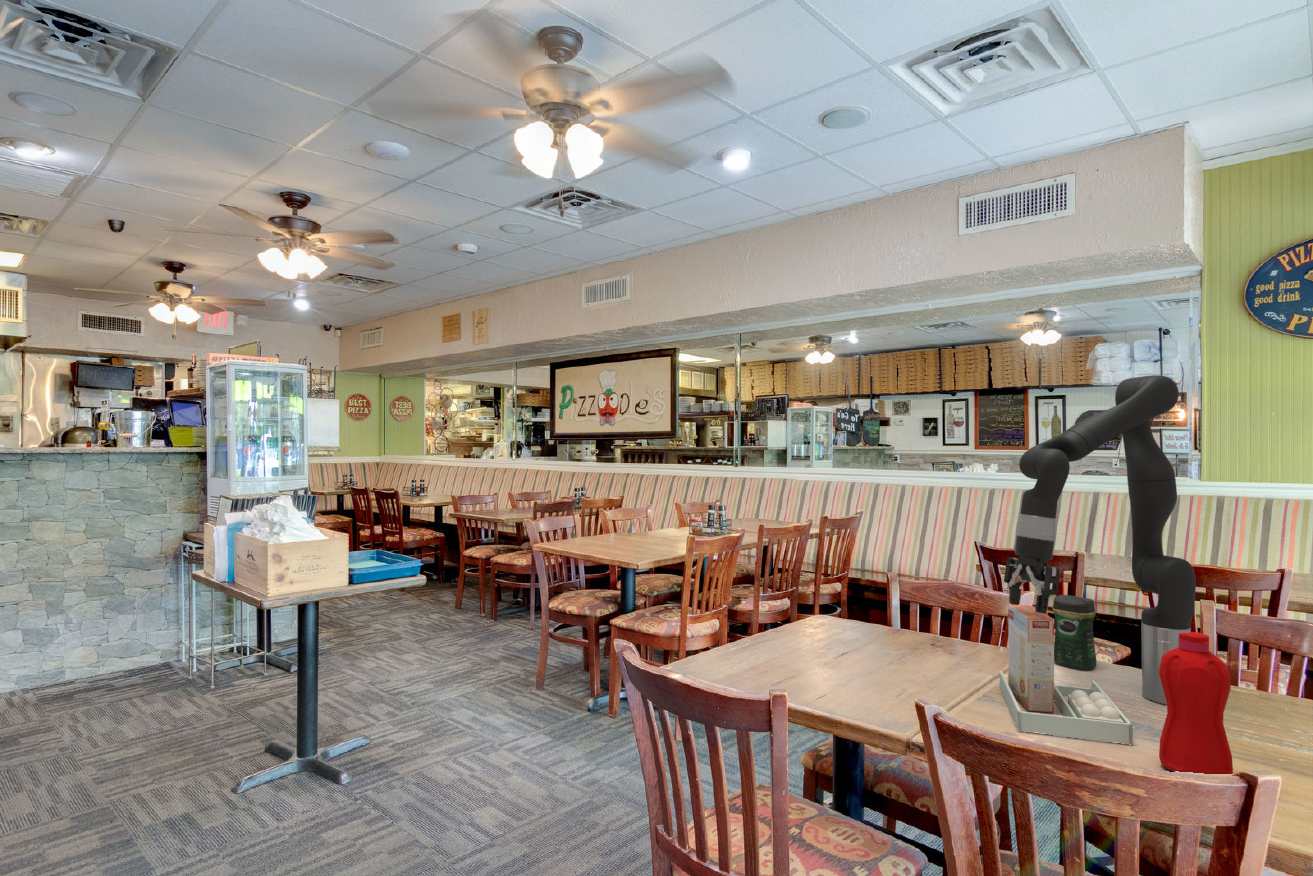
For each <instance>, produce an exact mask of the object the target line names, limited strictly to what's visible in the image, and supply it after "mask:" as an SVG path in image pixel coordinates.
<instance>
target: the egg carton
mask: <svg viewBox="0 0 1313 876" xmlns="http://www.w3.org/2000/svg"><path fill="white" fill-rule="evenodd" d="M1067 703H1068V704H1069V706H1070V707H1071V709H1072V710H1073V712H1074V713H1075V715H1076V716H1077V717H1078V718H1084V719H1093V720H1102V721H1110V722H1119V723H1124V722H1123V720H1122V719H1121V718H1120V715H1119V713H1118V711H1117V710H1116V709H1115V708H1113V705H1112V704H1111V702H1109V701H1108V700H1107V698H1106V696H1105V695H1104V694H1102V693H1100V692H1093V693H1091V694H1090V696H1088V695H1087V694H1086V693H1085V692H1084V691H1082V690H1075V691H1073V692H1072V694H1068V695H1067Z"/></svg>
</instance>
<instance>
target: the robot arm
mask: <svg viewBox="0 0 1313 876" xmlns="http://www.w3.org/2000/svg"><path fill="white" fill-rule="evenodd" d="M1179 393H1180V392H1179V388H1178V385H1177V383H1176V382H1175V381H1174V380H1173V379H1172V378H1170V377H1168V376H1166V375H1161V374H1158V375H1156V374H1155V375H1144V376H1138V377H1137V376H1136V377H1130V378H1126V379H1123V380H1122V381H1120V382H1119V384H1118V385H1117V387H1116V390H1115V396H1114V397H1115V398H1114V399H1115V406H1113V407H1111V408H1108V409H1106V410H1103V411H1101V412H1097V413H1095V414H1093V415H1090V416H1087V417H1086V418H1084V419H1082V420H1080V421H1078V422H1077V423H1075V424H1074V425H1072V426H1070V427H1069V428H1067V429H1065V431H1062V432H1061V433H1060V434H1059V435H1056V436H1055V437H1052V438H1050V439H1047V440H1045V441H1043V442H1040V443H1038V444H1036V445H1034V446H1032V447H1031V448H1029V449H1027V450H1026V451H1025V452H1024V453H1023V454H1022V456H1021V457H1020V459H1019V465H1018V467H1019V470H1020V472H1021V474H1023V476H1025V477H1026V478H1028V479H1031V480H1036V482H1035V485H1034V487H1033V488H1030V489H1027V490H1025V491H1024V492H1023V494H1022V499H1021V507H1020V515H1019V519H1018V522H1017V528H1016V538H1015V545H1014V554H1015V555H1016V556H1018V557H1017V558H1016V557H1007V559H1006V562H1005V563H1006V565H1005V572H1004V576H1003V582H1004V583H1006V584H1007V585H1008V587H1009V595H1008V602H1009V605H1021V604H1020V603H1021V594H1022V586H1023V585H1024V584H1025V583H1027V582H1028V583H1029V582H1030V583H1031V584H1032V586H1033V587H1034V588H1035V590H1036V593H1037V594H1036V598H1035V599H1036V600H1035V601H1036V602H1035V611H1036V612H1038V613H1044V614H1047V611H1048V609H1049V600H1050V599H1049V598H1050V597H1051V596H1058V594H1059V593H1058V592H1059V580H1060V579H1059V578H1060V568H1059V567H1056V566H1051V565H1049V563H1048V562H1049V561H1051V560H1053V555H1054V547H1055V546H1054V545H1055V541H1056V540H1055V538H1056V531H1057V527H1056V518H1057V512H1058V511H1057V509H1058V501H1059V499H1060V497H1061V495H1062V492H1063V489H1064V488H1065V485H1066V483H1067V479H1068V477H1069V475H1070V469H1071V467H1070V465H1071V464H1070V463H1071V462H1077V461H1079V460H1082V459H1084V458H1085V457H1087V456H1088V455H1089V454H1091V453H1092V452H1094V451H1096V450H1097V449H1099V448H1100V447H1102V446H1104V445H1105V444H1107V443H1108V442H1109V441H1112V440H1113V439H1114V438H1115V439H1116V437H1118V436H1120V435H1121V436H1122V441H1123V442H1122V443H1123V448H1124V457H1125V464H1126V478H1127V489H1128V497H1129V505H1130V516H1131V517H1130V518H1131V532H1132V533H1131V534H1132V536H1131V537H1132V539H1131V540H1132V541H1131V545H1132V547H1131V572H1132V578H1133V580H1134V583H1135V584H1136V586H1137V587H1138V588H1139V589H1140V590H1142V591H1144V592H1147V593H1152V594H1155V595H1157V596H1158V597H1157V599H1158V600H1157V605H1156V606H1154V607H1148V608H1144V609H1143V610H1142V611H1141V616H1140V617H1141V619H1140V620H1141V621H1140V622H1141V624H1140V625H1141V628H1140V629H1141V691H1142V693H1141V694H1142V695H1141V696H1142V697H1144V698H1145V699H1147V700H1149V701H1151V700H1152V701H1151V702H1154V703H1158V704H1162V705H1167V701H1166V698H1165V694H1164V691H1163V687H1162V683H1161V679H1160V676H1159V672H1158V671H1159V667H1160V663H1161V658H1162V656H1163V655H1164V654H1165V653H1167V652H1168V651H1170V650H1173V649H1175V648H1178V647H1179V640H1178V637H1179V633H1190V632H1192V631H1191V630H1192V629H1191V625H1192V624H1191V623H1192V619H1193V617H1194V614H1195V609H1196V607H1195V606H1196V589H1197V588H1196V587H1197V581H1196V580H1197V579H1196V574H1195V573H1196V572H1195V569H1194V568H1193V566H1192V564H1191V563H1190V562H1189V561H1187V560H1186V559H1184V558H1180V557H1177V556H1176V557H1175V556H1169V555H1164V550H1163V533H1164V532H1163V531H1164V527H1165V526H1166V523H1167V522H1168V520H1169V519H1170V517H1171V514H1172V512H1173V511H1174V508H1175V507H1176V504H1177V500H1178V492H1177V481H1176V473H1175V472H1176V471H1175V469H1174V467H1173V465H1172V463H1171V462H1170V460H1169V458H1168V457H1167V455H1166V454H1165V453H1164V451H1163V450H1162V448H1161V447H1160V446H1159V444H1158V443H1157V441H1156V439H1155V437H1154V435H1153V432H1152V426H1151V420H1152V419H1154V418H1157V417H1159V416H1161V415H1163V414H1164V415H1165V413H1167V412H1169V411H1171V410H1172V409H1173V408H1174V407H1176V405H1177V403H1178V400H1179V395H1180V394H1179Z"/></svg>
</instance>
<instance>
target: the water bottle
mask: <svg viewBox="0 0 1313 876" xmlns="http://www.w3.org/2000/svg"><path fill="white" fill-rule="evenodd" d="M1178 640H1179V647H1178V648H1175V649H1173V650H1170V651H1168V652H1167V653H1165V654H1164V655H1163V656H1162V658H1161V663H1160V667H1159V671H1158V672H1159V676H1160V679H1161V683H1162V687H1163V691H1164V694H1165V698H1166V701H1167V704H1166V712H1167V713H1166V717H1165V719H1164V722H1163V723H1164V724H1163V726H1162V730H1161V735H1160V737H1159V748H1158V749H1159V750H1158V751H1159V753H1158V757H1159V761H1160V764H1161V765H1162V766H1164V768H1165V767H1166V769H1167V768H1168V770H1169V771H1171V772H1173V771H1179V772H1193V773H1204V774H1234V768H1233V767H1234V765H1233V756H1232V755H1233V754H1232V751H1231V747H1230V743H1229V741H1228V736H1227V733H1226V732H1227V731H1226V729H1225V726H1224V714H1225V710H1226V707H1227V703H1228V699H1229V696H1230V692H1231V685H1232V684H1231V682H1232V681H1231V679H1232V677H1231V672H1230V669H1229V668H1228V666H1227V664H1226V663H1225V662H1224V661H1223V660H1222V659H1221V658H1220V657H1218V655H1215V654H1214V653H1212V652H1211V651H1210V635H1208V634H1205V633H1201V632H1197V631H1195V632H1194V631H1191V632H1190V633H1179V637H1178Z"/></svg>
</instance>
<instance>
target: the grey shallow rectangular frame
mask: <svg viewBox="0 0 1313 876" xmlns="http://www.w3.org/2000/svg"><path fill="white" fill-rule="evenodd" d="M998 672H999V674H998V676H999V677H998V678H999V689H1000V692H1001V695H1002V697H1003V698H1004V702H1005V704H1006V706H1007V708H1008V711H1009V710H1010V711H1009V713H1010V715H1011V717H1012V720H1013V719H1014V720H1013V722H1014V724H1015V723H1016V725H1015V726H1017V727H1016V729H1017V728H1018V729H1017V731H1018V730H1019V731H1025V732H1039V733H1045V734H1050V735H1053V736H1052V737H1059V738H1066V737H1071V738H1070V739H1074V738H1078V739H1077V740H1083V739H1085V741H1091V742H1100V743H1107V742H1117V743H1118V742H1119V743H1124V744H1131V745H1130V746H1132V745H1133V743H1134V742H1133V738H1134V737H1133V736H1134V735H1133V724H1132V723H1131V722H1130V721H1129V719H1128V718H1127V716H1125V715H1124V713H1123V712H1122V711H1121V710H1120V709H1119V708H1118V706H1117V705H1116V704H1115V703H1114V702H1113V700H1112V699H1111V698H1110V697H1109V696H1108V694H1107V693H1106V692H1105V691H1104V690H1103V689H1102V688H1101V686H1100V685H1099V684H1098V683H1097V682H1096V681H1095V680H1094V679H1090V687H1082V686H1081V687H1080V686H1072V685H1071V686H1070V685H1062V684H1061V685H1059V684H1055V682H1054V703H1055V704H1056V705H1057V707H1058V708H1059V710H1060V711H1061V713H1062V715H1057V714H1056V715H1055V714H1049V713H1048V714H1047V713H1040V712H1038V713H1037V712H1031V711H1022V710H1021V708H1020V706H1019V704H1018V701H1017V699H1016V698H1015V697H1014V695H1013V693H1012V691H1011V689H1010V687H1009V685H1008V680H1007V678H1006V676H1005V674H1004V672H1003V671H1002V670H999V671H998ZM1075 690H1082V691H1084V692H1085V693H1086V694H1087V695H1088V696H1090V694H1091V693H1093V692H1100V693H1102V694H1104V695H1105V696H1106V698H1107V700H1108V701H1109V702H1111V704H1112V705H1113V708H1115V709H1116V710H1117V711H1118V713H1119V715H1120V718H1121V719H1122V720H1123V722H1124V723H1119V722H1110V721H1102V720H1093V719H1084V718H1078V717H1077V716H1076V715H1075V713H1074V712H1073V710H1072V709H1071V707H1070V706H1069V704H1068V700H1066V698H1065V697H1064V696H1068V694H1072V692H1073V691H1075ZM1063 714H1064V715H1063ZM1019 731H1018V732H1019ZM1025 732H1024V733H1025ZM1050 735H1049V736H1050ZM1124 744H1123V745H1124Z"/></svg>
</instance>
